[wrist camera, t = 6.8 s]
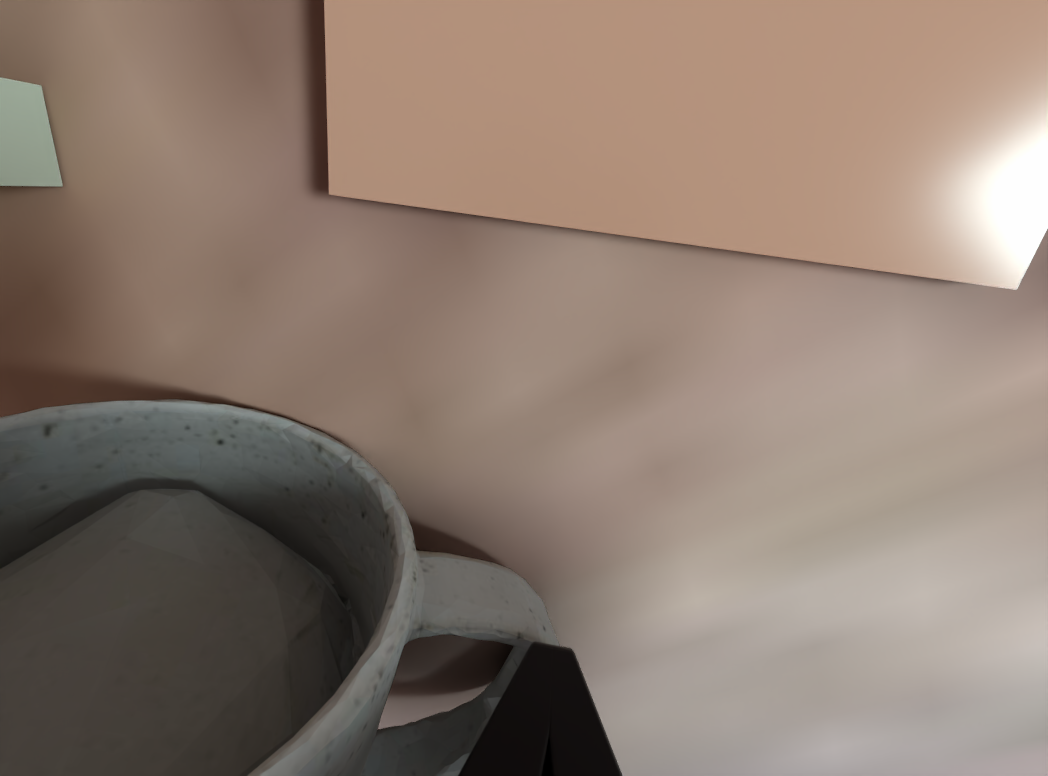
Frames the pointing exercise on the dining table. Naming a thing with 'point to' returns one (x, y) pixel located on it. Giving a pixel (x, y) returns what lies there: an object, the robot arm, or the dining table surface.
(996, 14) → the terracotta tile
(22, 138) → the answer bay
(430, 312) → the dining table surface
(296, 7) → the dining table surface
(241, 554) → the ceramic mug
